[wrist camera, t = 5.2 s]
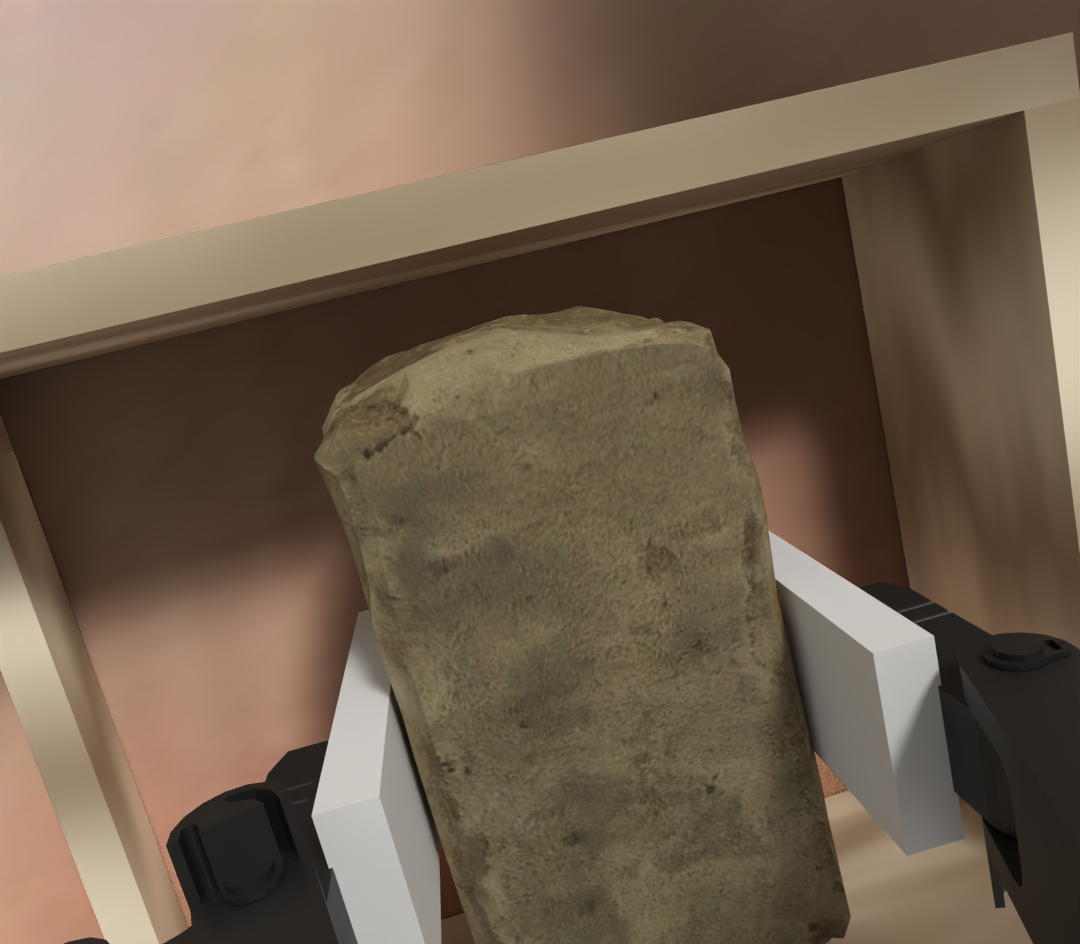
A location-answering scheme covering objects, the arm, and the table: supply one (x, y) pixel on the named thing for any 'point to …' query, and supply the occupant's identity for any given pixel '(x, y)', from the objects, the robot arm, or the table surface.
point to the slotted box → (615, 204)
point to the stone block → (587, 633)
